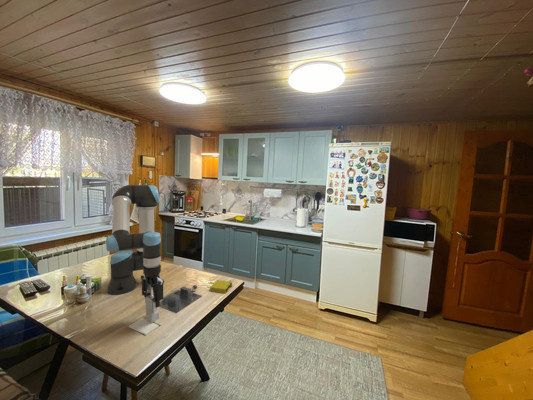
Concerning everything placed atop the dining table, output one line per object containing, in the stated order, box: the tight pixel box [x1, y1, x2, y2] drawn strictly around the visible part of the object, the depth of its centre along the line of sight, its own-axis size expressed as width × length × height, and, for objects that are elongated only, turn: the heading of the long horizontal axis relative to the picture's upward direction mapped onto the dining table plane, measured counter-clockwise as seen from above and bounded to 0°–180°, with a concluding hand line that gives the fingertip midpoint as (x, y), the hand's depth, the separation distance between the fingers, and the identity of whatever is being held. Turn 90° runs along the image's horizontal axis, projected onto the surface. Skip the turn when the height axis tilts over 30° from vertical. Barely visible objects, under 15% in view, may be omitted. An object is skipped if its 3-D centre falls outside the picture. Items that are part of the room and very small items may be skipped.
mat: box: [128, 317, 162, 336], centre depth 110 cm, size 12×16×1 cm
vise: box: [159, 284, 203, 314], centre depth 130 cm, size 16×23×6 cm
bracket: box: [207, 279, 233, 294], centre depth 144 cm, size 16×8×15 cm
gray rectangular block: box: [145, 291, 165, 324], centre depth 111 cm, size 4×7×12 cm, turn 155°
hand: (152, 311), depth 110 cm, fingers open, 4 cm apart
